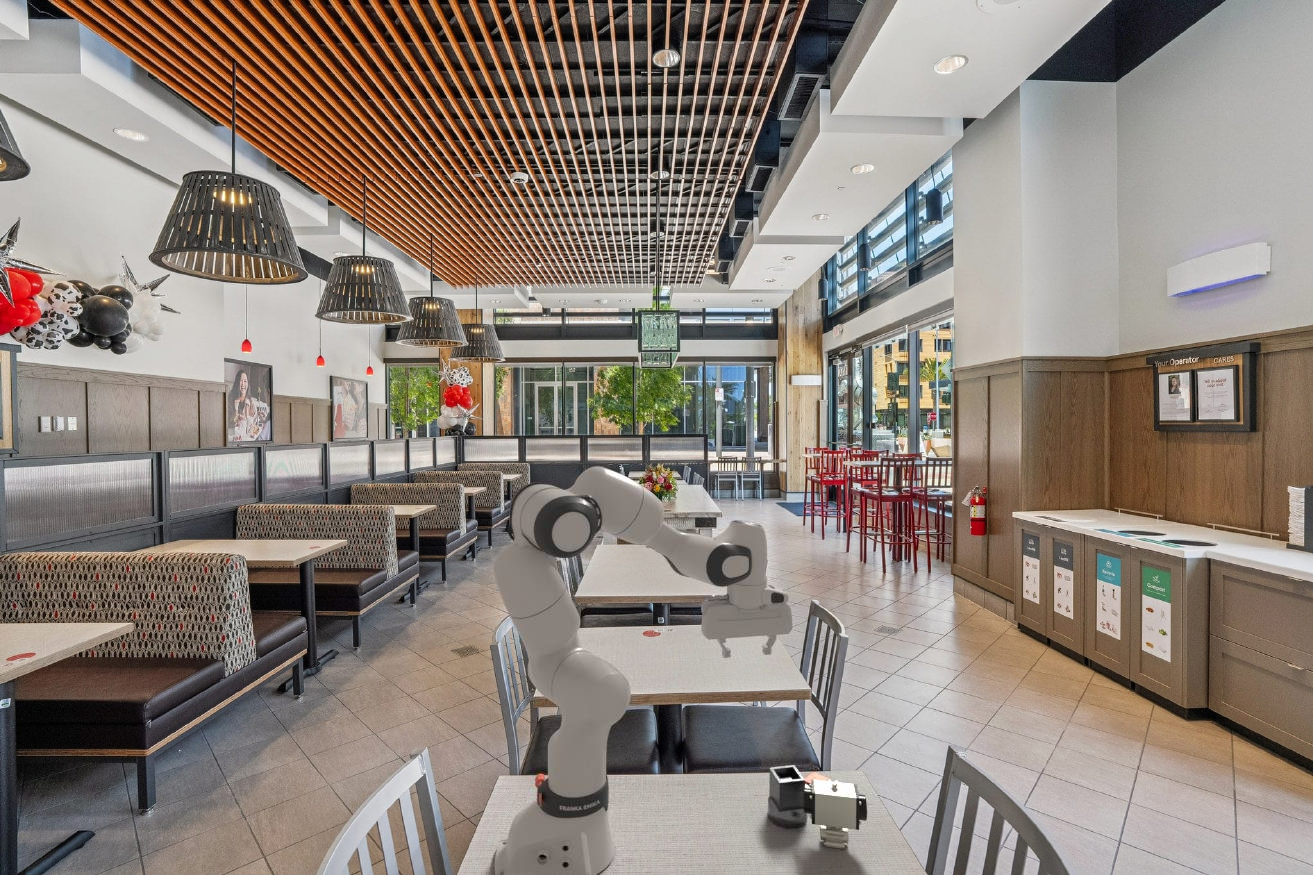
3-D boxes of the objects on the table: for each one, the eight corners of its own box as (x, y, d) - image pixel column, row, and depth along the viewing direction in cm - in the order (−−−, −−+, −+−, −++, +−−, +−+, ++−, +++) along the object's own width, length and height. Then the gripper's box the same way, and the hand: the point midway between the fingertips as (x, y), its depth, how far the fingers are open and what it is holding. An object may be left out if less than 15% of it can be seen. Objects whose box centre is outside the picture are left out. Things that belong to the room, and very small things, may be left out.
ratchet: (793, 834, 123) (793, 797, 122) (760, 816, 128) (760, 781, 128) (837, 795, 135) (837, 761, 135) (805, 780, 141) (805, 748, 141)
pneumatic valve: (866, 855, 117) (867, 793, 116) (803, 846, 119) (804, 786, 119) (863, 836, 122) (863, 777, 122) (803, 828, 124) (803, 770, 124)
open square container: (779, 811, 125) (779, 782, 125) (769, 795, 130) (769, 767, 130) (805, 808, 126) (805, 779, 126) (794, 792, 131) (794, 764, 131)
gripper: (705, 600, 130) (705, 664, 130) (795, 594, 134) (795, 657, 134) (697, 592, 136) (697, 653, 136) (784, 587, 140) (784, 647, 140)
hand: (746, 655), depth 135 cm, fingers open, 8 cm apart
